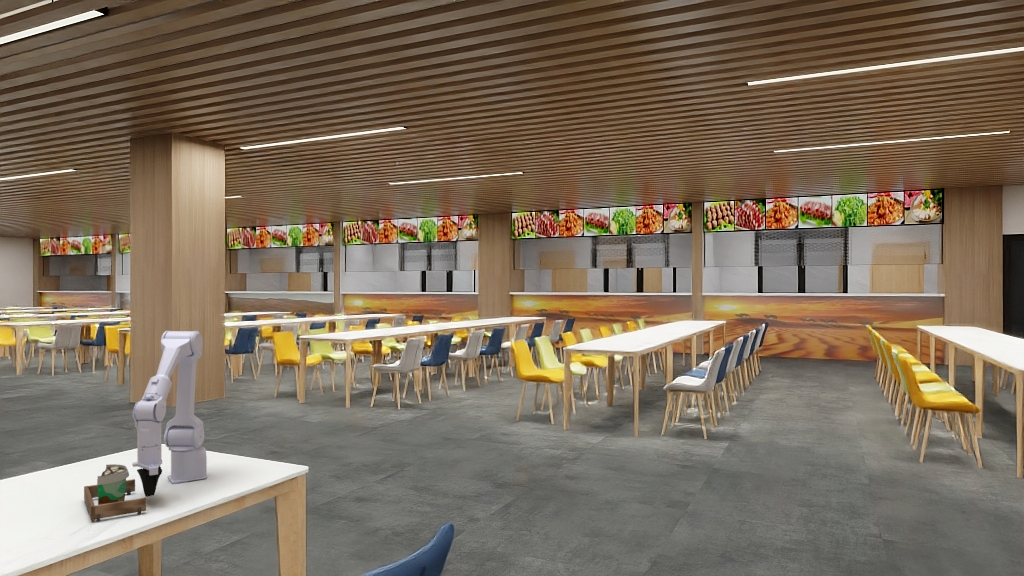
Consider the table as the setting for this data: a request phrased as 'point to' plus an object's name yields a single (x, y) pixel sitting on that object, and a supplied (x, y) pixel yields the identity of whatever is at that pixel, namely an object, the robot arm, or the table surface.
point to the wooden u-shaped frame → (115, 507)
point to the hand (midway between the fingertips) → (149, 495)
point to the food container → (112, 484)
